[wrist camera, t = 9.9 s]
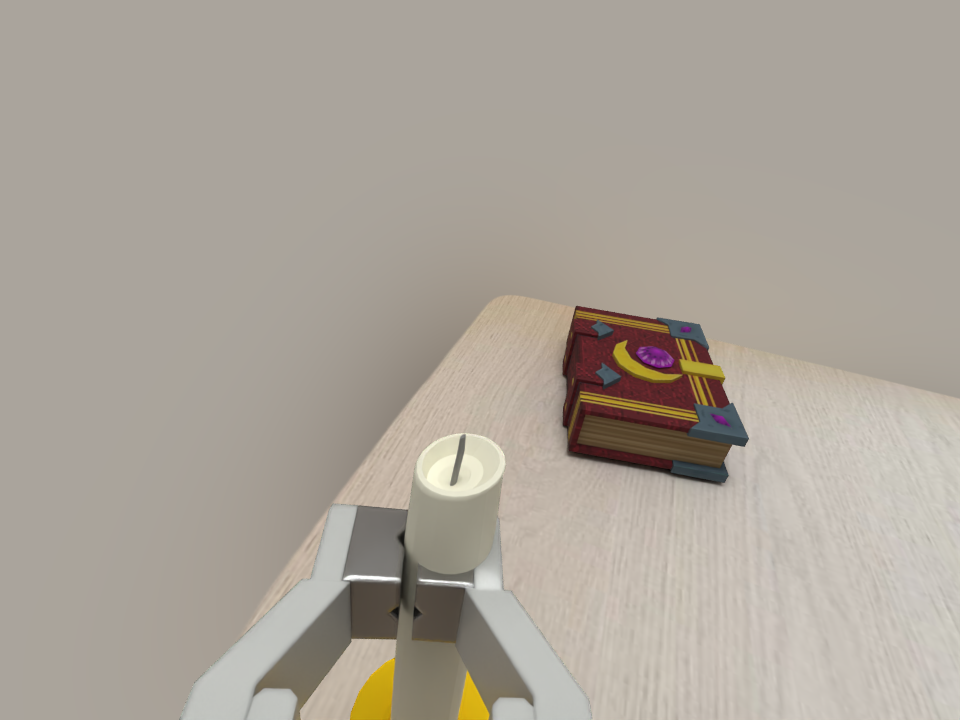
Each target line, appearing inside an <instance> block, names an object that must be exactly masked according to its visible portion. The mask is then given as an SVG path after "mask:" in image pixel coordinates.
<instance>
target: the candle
mask: <svg viewBox="0 0 960 720" xmlns="http://www.w3.org/2000/svg"><path fill="white" fill-rule="evenodd" d="M505 467H506V461H505V456H504V454H503V452H502V450H501V448H500V447H499V446H498V445H497V444H496V443H495V442H493V441H491V440H490V439H488V438H486V437H483V436H480V435H475V434H468V433H464V434H454V435H449V436H445V437H443V438H441V439H439V440H436V441H435V442H433V443H432V444H431V445H429V446H428V447H426V449H425V450H424V451H423V452H422V453H421V454H420V456H419V458H418V460H417V462H416V464H415V468H414V475H413V482H412V489H411V496H410V503H409V509H408V516H407V523H406V530H405V538H404V549H405V550H404V568H403V578H402V596H401V607H400V616H399V624H398V633H397V642H396V655H395V658H393V659H391V660H389V661H387V662H386V663H384V664H383V665H382V666H381V667H380V668H379V669H378V670H376V671H375V672H374V673H373V674H372V675H371V676H370V677H369V679H368V680H367V682H366V683H365V684H364V686H363V687H362V689H361V690H360V691H359V694H358V696H357V699H356V701H355V704H354V706H353V708H352V711H351V716H350V720H488V719H489V716H490V714H489V712H488V710H487V708H486V706H485V704H484V702H483V700H482V698H481V696H480V694H479V692H478V690H477V688H476V686H475V684H474V682H473V680H472V678H471V676H470V674H469V672H468V670H467V668H466V666H465V664H464V662H463V660H462V658H461V656H460V654H459V653H458V651H457V649H456V647H455V644H456V643H442V642H429V641H416V640H411V639H412V626H413V613H414V601H415V591H416V580H417V571H418V563H419V564H420V565H422V566H423V567H425V568H427V569H428V570H430V571H434V572H437V573H441V574H459V573H464V572H468V571H470V570H472V569H473V570H474V568H476V567H477V566H478V565H479V564H481V563H482V562H483V561H484V560H485V559H486V557H487V556H488V554H489V552H490V551H491V547H492V543H493V539H494V534H495V529H496V523H497V515H498V508H499V501H500V493H501V486H502V479H503V474H504V471H505Z"/></svg>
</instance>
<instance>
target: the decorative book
mask: <svg viewBox="0 0 960 720" xmlns="http://www.w3.org/2000/svg"><path fill="white" fill-rule="evenodd" d="M708 349H709V346H708V344H707V341H706V339H705V336H704V334H703V331H702V329H701V327H700V325H699V324H694V323H688V322H682V321H676V320H670V319H663V318H657V319H650V318H643V317H638V316H632V315H626V314H620V313H615V312H609V311H603V310H597V309H592V308H586V307H580V306H576V308H575V311H574V315H573V319H572V323H571V327H570V331H569V335H568V339H567V348H566V352H565V356H564V360H563V375H566V376H567V396H566V400H565V403H564V407H563V425H565V426H568V451H572V452H578V453H583V454H589V455H594V456H600V457H605V458H611V459H616V460H622V461H627V462H633V463H638V464H644V465H649V466H655V467H660V468H666V469H671V473H676V474H681V475H686V476H692V477H697V478H702V479H707V480H713V481H718V482H723V483H725V481H726V479H727V478H728V476H729V475H728V473H727V470H726V467H725V464H724V462H723V461H724V459H725V457H726V455H727V453H728V452H729V450H730V448H731V446H732V445H738V446H743V447H745V445H746V443H747V441H748V440H749V438H748V435H747V433H746V431H745V429H744V426H743V424H742V422H741V420H740V418H739V415H738V413H737V411H736V409H735V406H734V404H733V403H731V404H730V403H729V401H728V398H727V396H726V393H725V391H724V389H723V386H722V384H723V382H724V380H725V376H724V374H723V372H722V369H721V367H720V366H716V365H713V363H712V360H711V358H710V355H709V353H708Z"/></svg>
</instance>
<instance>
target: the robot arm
mask: <svg viewBox="0 0 960 720" xmlns="http://www.w3.org/2000/svg"><path fill="white" fill-rule="evenodd" d="M407 516H408V510H402V509H392V508H381V507H370V506H358V505H346V504H332V506H331V508H330V509H329V512H328V515H327V519H326V523H325V526H324V530H323V534H322V537H321V541H320V545H319V548H318V552H317V556H316V559H315V563H314V567H313V570H312V574H311V578H310V579H301V580H300V581H299V582H298V583H297V584H296V585H295V586H294V587H293V588H292V589H291V590H290V591H289V592H288V593H287V594H286V595H285V596H284V597H283V598H282V599H281V600H280V601H279V602H278V603H276V604H275V605H274V606H273V607H272V608H271V609H270V610H269V611H268V612H267V613H266V614H265V615H264V616H263V617H262V618H261V619H260V620H259V621H258V622H257V623H256V624H255V625H254V626H253V627H251V628H250V629H249V630H248V631H247V632H246V633H245V634H244V635H243V636H242V637H241V638H240V639H239V640H238V641H237V642H236V643H235V644H234V645H233V646H232V647H231V648H230V649H229V650H228V651H226V652H225V653H224V654H223V655H222V656H221V657H220V658H219V659H218V660H217V661H216V662H215V663H214V664H213V665H212V666H211V667H210V668H209V669H208V670H207V671H206V672H205V673H204V674H203V675H202V676H201V677H200V678H199V679H197V680H196V682H195V683H194V685H193V687H192V689H191V692H190V694H189V697H188V699H187V702H186V704H185V707H184V709H183V712H182V714H181V717H180V719H179V720H301V719H300V712H299V711H300V709H301V708H302V707H303V705H304V704H305V703H306V701H307V700H308V699H309V697H310V696H311V695H312V693H313V692H314V691H315V689H316V688H317V687H318V685H319V684H320V683H321V681H322V680H323V679H324V677H325V676H326V675H327V673H328V672H329V671H330V669H331V668H332V667H333V665H334V664H335V663H336V662H337V660H338V659H339V658H340V656H341V655H342V654H343V652H344V651H345V650H346V648H347V647H348V646H349V644H350V643H351V639H397V633H398V624H399V616H400V607H401V596H402V578H403V568H404V550H405V549H404V538H405V530H406V523H407ZM411 640H416V641H429V642H442V643H456V644H455V647H456V649H457V651H458V653H459V654H460V656H461V658H462V660H463V662H464V664H465V666H466V668H467V670H468V672H469V674H470V676H471V678H472V680H473V682H474V684H475V686H476V688H477V690H478V692H479V694H480V696H481V698H482V700H483V702H484V704H485V706H486V708H487V710H488V712H489V714H490V716H489V719H488V720H593V719H592V713H591V707H590V702H589V698H588V697H587V695H586V694H585V693H584V691H583V690H582V688H581V687H580V686H579V684H578V683H577V681H576V680H575V679H574V677H573V676H572V674H571V673H570V672H569V670H568V669H567V667H566V666H565V665H564V663H563V662H562V661H561V659H560V658H559V656H558V655H557V654H556V652H555V651H554V649H553V648H552V647H551V645H550V644H549V642H548V641H547V640H546V638H545V637H544V635H543V634H542V633H541V631H540V630H539V628H538V627H537V626H536V624H535V623H534V621H533V620H532V619H531V617H530V616H529V614H528V613H527V612H526V610H525V609H524V608H523V606H522V605H521V603H520V602H519V601H518V599H517V598H516V596H515V595H514V594H513V592H512V591H511V590H504V586H503V570H502V554H501V537H500V521H499V518H498V515H497V523H496V529H495V534H494V539H493V543H492V547H491V551H490V552H489V554H488V556H487V557H486V559H485V560H484V561H483V562H482V563H481V564H479V565H478V566H477V567H476V568H474V570H473V569H472V570H470V571H468V572H464V573H459V574H441V573H437V572H434V571H430V570H428V569H427V568H425V567H423V566H422V565H420V564H419V563H418V571H417V580H416V591H415V601H414V613H413V626H412V639H411Z"/></svg>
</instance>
